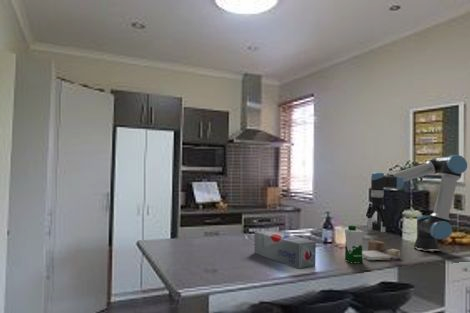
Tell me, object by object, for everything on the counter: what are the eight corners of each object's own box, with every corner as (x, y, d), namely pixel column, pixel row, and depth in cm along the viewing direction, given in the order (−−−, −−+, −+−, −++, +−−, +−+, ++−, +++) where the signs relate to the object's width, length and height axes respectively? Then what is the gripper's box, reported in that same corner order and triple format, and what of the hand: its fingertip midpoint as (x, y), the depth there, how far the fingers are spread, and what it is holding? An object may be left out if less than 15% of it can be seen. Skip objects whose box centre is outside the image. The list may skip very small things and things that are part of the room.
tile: (376, 254, 224) (376, 250, 224) (390, 260, 211) (390, 256, 211) (356, 255, 221) (356, 251, 221) (369, 261, 207) (369, 256, 208)
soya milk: (355, 259, 211) (356, 225, 211) (365, 263, 202) (365, 227, 203) (342, 260, 208) (343, 225, 209) (351, 264, 200) (352, 228, 200)
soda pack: (316, 266, 194) (316, 241, 194) (298, 270, 187) (299, 243, 187) (269, 251, 228) (270, 229, 228) (253, 253, 221) (253, 230, 221)
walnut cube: (377, 251, 233) (378, 240, 233) (384, 254, 226) (384, 243, 226) (368, 251, 231) (368, 240, 232) (374, 254, 225) (375, 243, 225)
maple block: (392, 257, 219) (392, 248, 219) (399, 258, 215) (399, 250, 215) (387, 258, 216) (387, 249, 216) (394, 259, 212) (394, 251, 212)
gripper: (360, 195, 241) (360, 226, 241) (384, 198, 217) (383, 233, 216) (370, 195, 243) (370, 226, 242) (395, 198, 218) (394, 233, 218)
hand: (376, 230), depth 229 cm, fingers open, 13 cm apart
